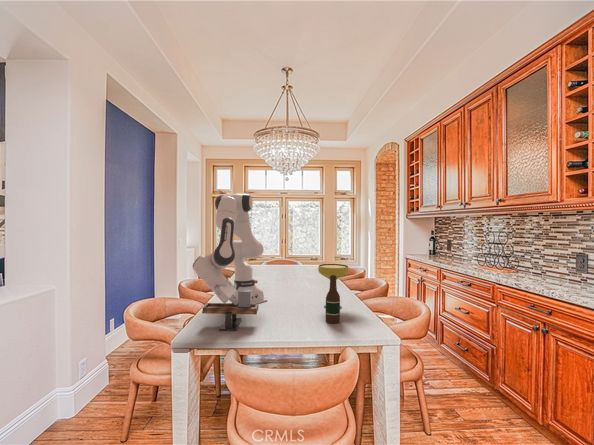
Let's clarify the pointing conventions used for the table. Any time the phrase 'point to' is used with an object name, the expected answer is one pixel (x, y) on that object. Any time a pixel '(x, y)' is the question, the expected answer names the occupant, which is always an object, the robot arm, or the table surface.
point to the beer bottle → (333, 302)
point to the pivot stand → (230, 322)
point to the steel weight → (244, 298)
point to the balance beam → (228, 309)
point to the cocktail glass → (333, 271)
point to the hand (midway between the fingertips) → (237, 303)
